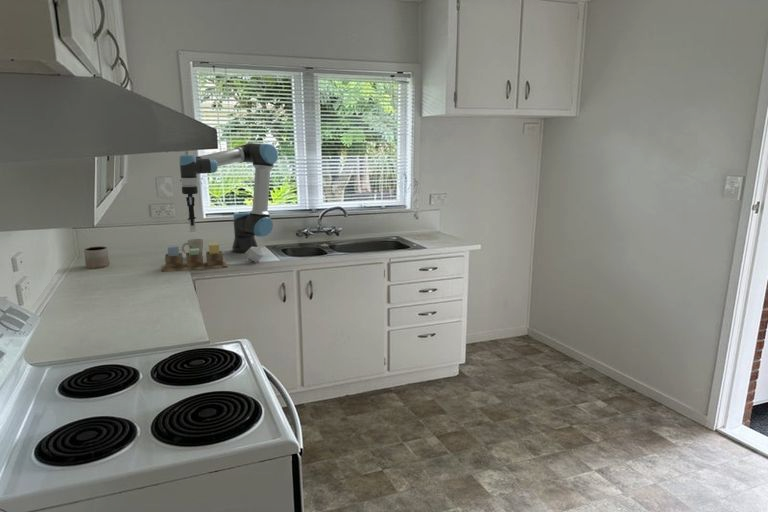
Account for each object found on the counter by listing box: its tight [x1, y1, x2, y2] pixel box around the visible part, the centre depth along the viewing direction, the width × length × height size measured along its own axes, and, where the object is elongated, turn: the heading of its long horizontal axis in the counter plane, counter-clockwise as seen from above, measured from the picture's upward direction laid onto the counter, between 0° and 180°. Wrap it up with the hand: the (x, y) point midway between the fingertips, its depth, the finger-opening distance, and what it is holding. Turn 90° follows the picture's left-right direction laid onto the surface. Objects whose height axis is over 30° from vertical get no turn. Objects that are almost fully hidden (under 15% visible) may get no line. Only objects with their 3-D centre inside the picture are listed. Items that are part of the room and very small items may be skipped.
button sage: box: [188, 248, 199, 255], centre depth 268 cm, size 5×5×7 cm
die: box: [244, 246, 264, 263], centre depth 282 cm, size 8×9×10 cm
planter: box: [83, 246, 110, 269], centre depth 267 cm, size 11×11×10 cm
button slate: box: [167, 244, 180, 256], centre depth 264 cm, size 5×5×7 cm
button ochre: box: [208, 242, 220, 254], centre depth 271 cm, size 5×5×7 cm
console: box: [161, 250, 228, 273], centre depth 269 cm, size 32×13×7 cm, turn 110°
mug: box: [181, 238, 204, 255], centre depth 289 cm, size 8×13×10 cm, turn 89°
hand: (192, 231), depth 265 cm, fingers closed
